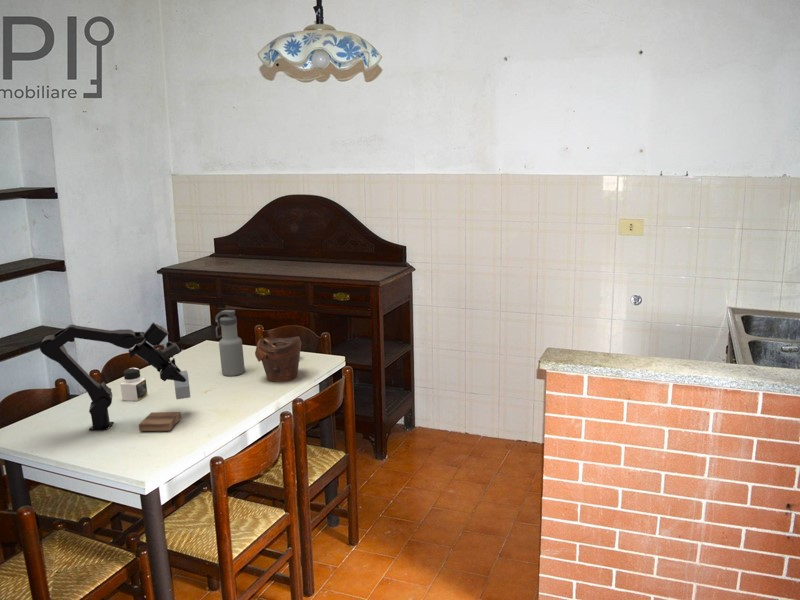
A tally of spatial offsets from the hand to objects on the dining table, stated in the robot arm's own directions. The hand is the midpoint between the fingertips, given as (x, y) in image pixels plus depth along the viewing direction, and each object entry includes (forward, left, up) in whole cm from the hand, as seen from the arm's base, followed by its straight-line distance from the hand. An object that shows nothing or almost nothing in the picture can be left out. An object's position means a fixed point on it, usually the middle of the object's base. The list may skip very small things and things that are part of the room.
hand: (185, 378), depth 264 cm
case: (+38, -27, -14) cm, 49 cm away
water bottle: (+45, -4, -14) cm, 47 cm away
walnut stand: (-12, +6, -13) cm, 19 cm away
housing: (-1, +1, -7) cm, 7 cm away
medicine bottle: (+17, +28, -14) cm, 36 cm away
